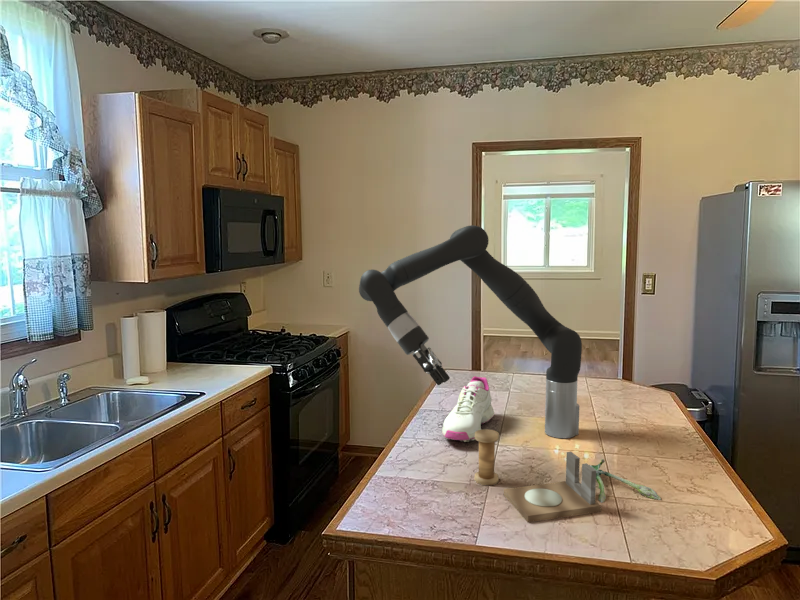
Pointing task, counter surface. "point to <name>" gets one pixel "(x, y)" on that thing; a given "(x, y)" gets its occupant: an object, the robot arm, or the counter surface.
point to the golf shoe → (469, 411)
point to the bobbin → (486, 457)
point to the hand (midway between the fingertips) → (444, 382)
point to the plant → (642, 489)
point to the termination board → (558, 495)
